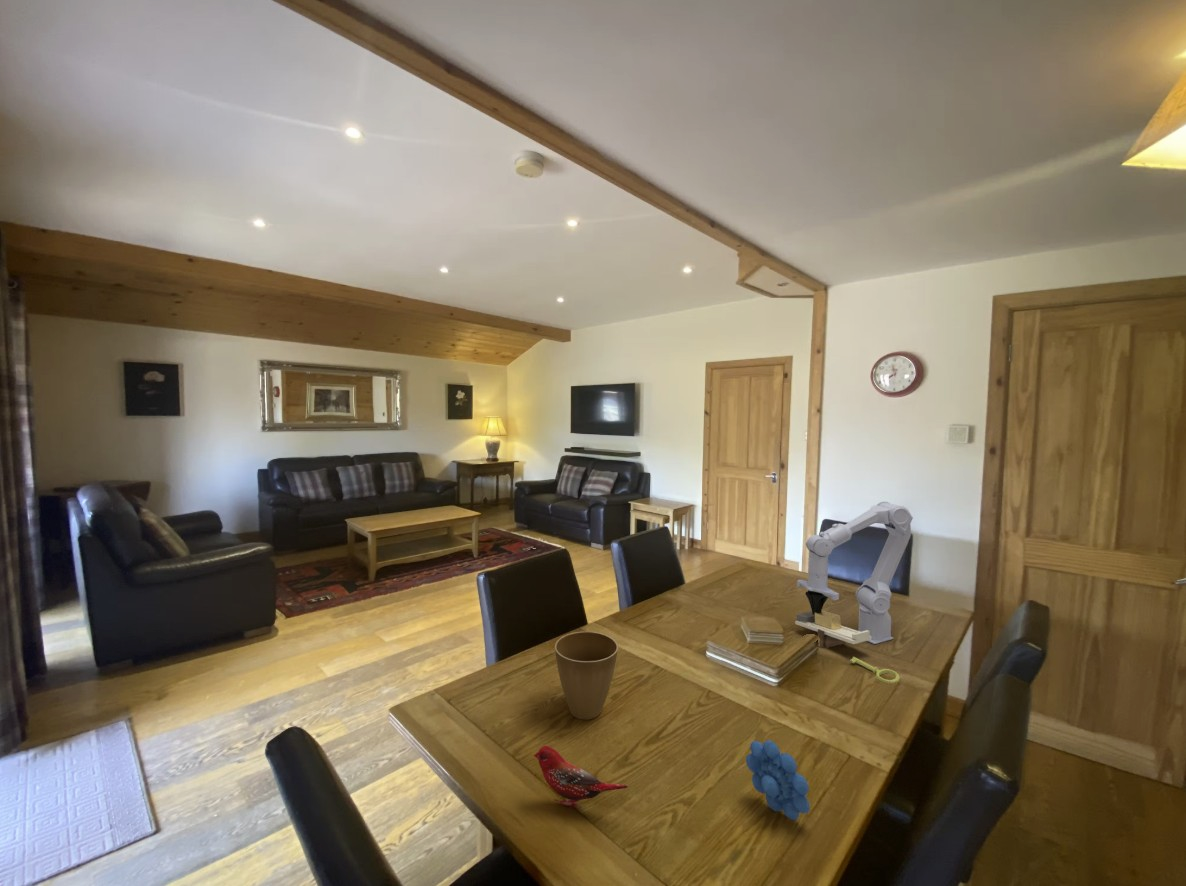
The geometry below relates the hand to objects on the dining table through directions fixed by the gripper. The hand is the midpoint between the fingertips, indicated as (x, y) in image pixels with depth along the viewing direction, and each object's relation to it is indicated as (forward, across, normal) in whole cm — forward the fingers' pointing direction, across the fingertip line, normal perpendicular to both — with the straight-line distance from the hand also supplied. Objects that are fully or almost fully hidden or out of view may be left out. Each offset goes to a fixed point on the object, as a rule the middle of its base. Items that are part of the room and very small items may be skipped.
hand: (816, 614), depth 158 cm
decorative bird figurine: (+7, +33, -98) cm, 104 cm away
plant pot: (+7, +7, -85) cm, 86 cm away
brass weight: (+2, +4, 0) cm, 5 cm away
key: (+8, +23, -4) cm, 25 cm away
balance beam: (+3, +6, 0) cm, 7 cm away
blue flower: (+7, +48, -67) cm, 83 cm away
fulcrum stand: (+7, +6, 0) cm, 9 cm away
